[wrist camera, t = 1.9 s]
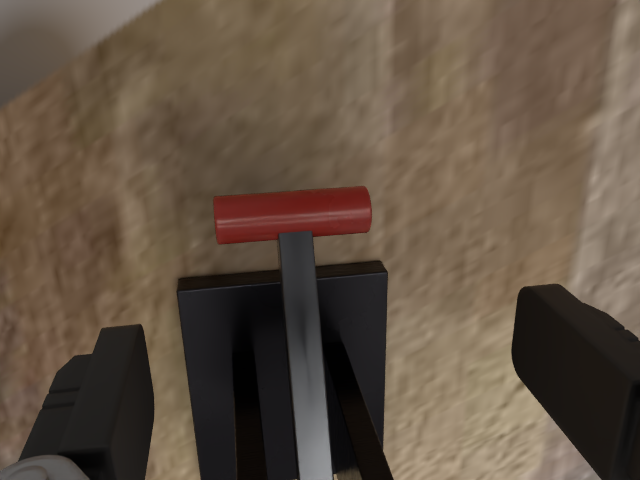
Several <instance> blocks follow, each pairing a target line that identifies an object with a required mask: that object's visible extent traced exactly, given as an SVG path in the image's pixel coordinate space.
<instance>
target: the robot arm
mask: <svg viewBox="0 0 640 480" xmlns="http://www.w3.org/2000/svg"><path fill="white" fill-rule="evenodd" d="M511 351H512V361H513V365H514V368H515V371H516V373H517V375H518V377H519V378H520V379H521V381H522V382H523V383H524V384H525V386H526V387H527V388H528V389H529V390H530V392H531V393H532V394H533V395H534V397H535V398H536V399H537V400H538V402H539V403H540V404H541V405H542V407H543V408H544V409H545V410H546V411H547V413H548V414H549V415H550V416H551V418H552V419H553V420H554V421H555V423H556V424H557V425H558V426H559V428H560V429H561V430H562V431H563V432H564V434H565V435H566V436H567V437H568V439H569V440H570V441H571V442H572V444H573V445H574V446H575V447H576V449H577V450H578V451H579V452H580V454H581V455H582V456H583V457H584V458H585V460H586V461H587V462H588V463H589V465H590V466H591V467H592V468H593V470H594V471H595V472H596V473H597V475H598V476H599V477H600V478H601V479H602V480H640V341H639V340H638V337H636V336H635V335H634V334H633V333H631V332H630V331H629V330H625V329H624V326H622V325H621V324H620V323H619V322H617V321H616V320H615V319H614V318H612V317H611V316H610V315H609V314H607V313H605V312H603V311H601V310H598V309H596V308H594V307H592V306H590V305H587V304H585V303H582V302H581V301H580V300H578V299H577V298H576V297H575V296H574V295H572V294H571V293H570V292H569V291H567V290H566V289H565V288H564V287H563V286H561V285H559V284H547V285H537V286H527V287H523V288H522V289H521V290H520V292H519V294H518V298H517V306H516V315H515V323H514V332H513V340H512V350H511ZM153 422H154V393H153V386H152V379H151V373H150V367H149V360H148V354H147V348H146V341H145V335H144V330H143V327H142V325H141V324H136V325H126V326H116V327H106V328H102V329H101V331H100V334H99V337H98V339H97V342H96V345H95V348H94V351H93V353H92V354H87V355H77V356H74V357H73V358H72V359H71V360H70V361H69V362H68V363H67V364H65V365H64V366H63V367H62V368H61V369H60V370H59V371H58V372H57V373H56V375H55V378H54V380H53V382H52V385H51V387H50V389H49V394H47V396H46V398H45V401H44V403H43V405H42V410H40V412H39V414H38V417H37V419H36V421H35V424H34V426H33V428H32V431H31V433H30V435H29V437H28V440H27V442H26V444H25V447H24V449H23V451H22V453H21V456H20V458H19V460H18V462H16V463H14V464H12V465H10V466H8V467H6V468H4V469H3V470H1V471H0V480H145V475H146V468H147V462H148V455H149V449H150V442H151V436H152V429H153Z"/></svg>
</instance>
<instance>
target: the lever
mask: <svg viewBox="0 0 640 480" xmlns="http://www.w3.org/2000/svg"><path fill="white" fill-rule="evenodd" d="M213 205H214V220H215V231H216V239H217V243H218V244H231V243H244V242H256V241H268V240H277V248H278V260H279V272H280V284H281V296H282V308H283V320H284V332H285V343H286V355H287V367H288V379H289V391H290V403H291V415H292V427H293V439H294V451H295V462H296V474H297V480H334V477H333V465H332V454H331V442H330V430H329V419H328V407H327V396H326V384H325V373H324V361H323V349H322V338H321V326H320V315H319V303H318V292H317V280H316V268H315V257H314V245H313V237H318V236H330V235H343V234H355V233H367V232H368V231H369V230H370V227H371V221H372V208H371V200H370V195H369V192H368V190H367V188H366V187H365V186H355V187H341V188H326V189H312V190H297V191H283V192H268V193H254V194H239V195H225V196H215V197H214V199H213Z"/></svg>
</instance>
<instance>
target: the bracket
mask: <svg viewBox="0 0 640 480" xmlns="http://www.w3.org/2000/svg"><path fill="white" fill-rule="evenodd" d="M315 268H316V280H317V292H318V303H319V315H320V326H321V338H322V349H323V361H324V373H325V384H326V396H327V407H328V419H329V430H330V442H331V454H332V465H333V474H337V478H338V480H394V479H393V477H392V474H391V471H390V468H389V466H388V463H387V460H386V458H385V455H384V452H383V435H384V397H385V360H386V322H387V284H388V272H387V270H386V269H385V267H384V265H383V264H382V262H381V261H377V262H365V263H354V264H343V265H331V266H320V267H315ZM177 299H178V307H179V315H180V322H181V330H182V338H183V345H184V353H185V361H186V369H187V376H188V384H189V392H190V400H191V407H192V415H193V423H194V431H195V438H196V446H197V454H198V461H199V469H200V477H201V480H295V479H297V474H296V462H295V451H294V439H293V427H292V415H291V403H290V391H289V379H288V367H287V355H286V343H285V332H284V320H283V308H282V296H281V284H280V272H279V270H274V271H263V272H252V273H240V274H229V275H218V276H206V277H195V278H183V279H179V280H178V285H177Z"/></svg>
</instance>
